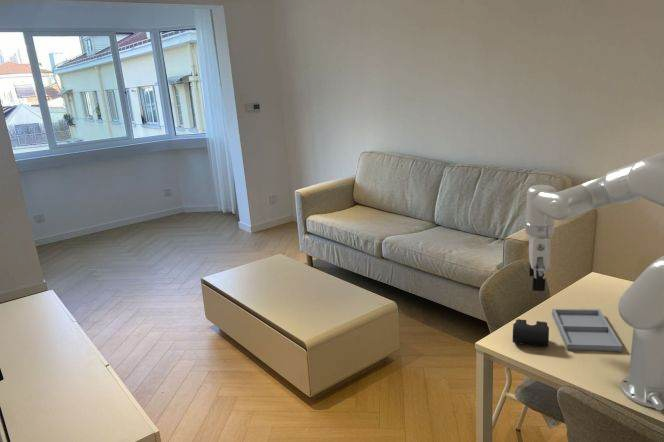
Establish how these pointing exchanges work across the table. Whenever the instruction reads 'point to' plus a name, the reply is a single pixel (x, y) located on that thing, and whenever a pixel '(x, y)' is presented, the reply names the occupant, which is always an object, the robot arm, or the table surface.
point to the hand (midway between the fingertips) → (536, 283)
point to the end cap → (531, 333)
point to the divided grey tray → (586, 330)
